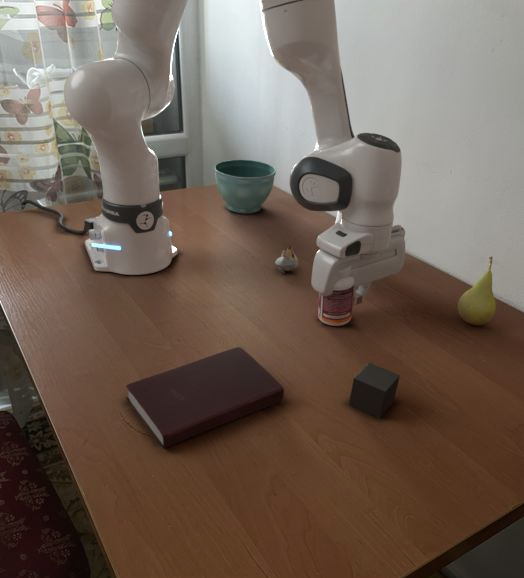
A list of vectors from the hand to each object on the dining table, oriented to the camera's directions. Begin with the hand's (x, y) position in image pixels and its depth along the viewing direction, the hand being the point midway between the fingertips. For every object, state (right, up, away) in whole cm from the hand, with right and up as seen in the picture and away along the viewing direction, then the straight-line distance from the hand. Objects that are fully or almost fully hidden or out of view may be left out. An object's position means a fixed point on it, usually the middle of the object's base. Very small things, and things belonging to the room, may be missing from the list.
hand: (355, 303), depth 103 cm
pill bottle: (-4, -3, -1) cm, 5 cm away
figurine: (-12, +8, +15) cm, 21 cm away
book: (-26, -17, -23) cm, 38 cm away
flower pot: (-23, +30, +46) cm, 60 cm away
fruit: (+22, -4, +1) cm, 23 cm away
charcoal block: (-1, -17, -22) cm, 27 cm away
